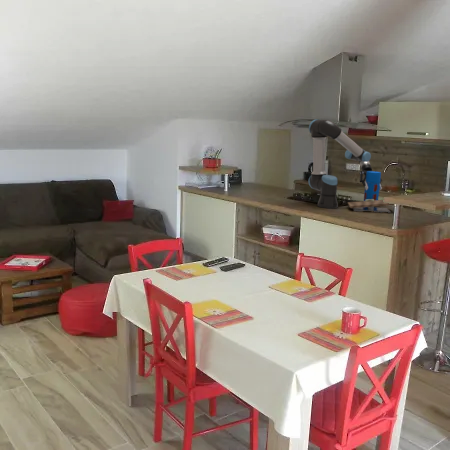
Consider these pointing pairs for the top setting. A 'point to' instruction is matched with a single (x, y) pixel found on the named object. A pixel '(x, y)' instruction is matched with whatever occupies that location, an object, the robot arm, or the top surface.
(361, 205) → the levelling board
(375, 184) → the blue tall block
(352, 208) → the tribrach base
